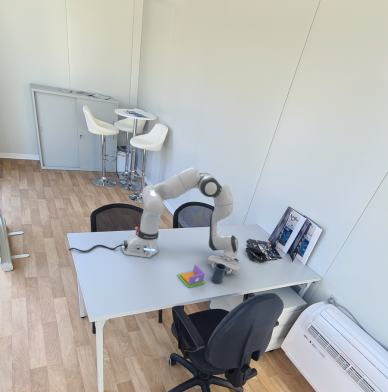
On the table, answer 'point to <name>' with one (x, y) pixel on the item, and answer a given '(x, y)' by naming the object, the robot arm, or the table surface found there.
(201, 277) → the dollhouse room
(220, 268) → the pen cup
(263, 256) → the cable
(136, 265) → the table surface
